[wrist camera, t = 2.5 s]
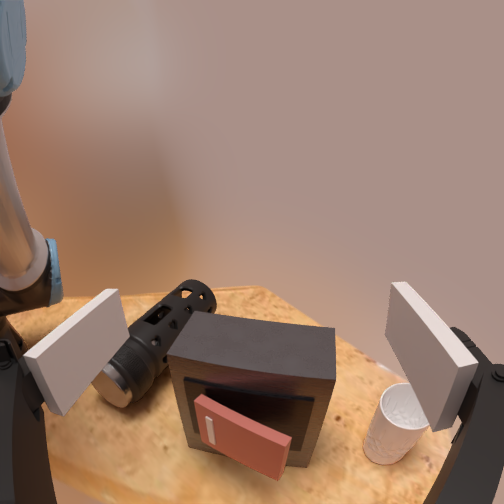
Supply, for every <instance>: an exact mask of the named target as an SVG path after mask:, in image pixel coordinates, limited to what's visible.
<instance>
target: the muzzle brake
mask: <svg viewBox="0 0 504 504" xmlns="http://www.w3.org/2000/svg"><path fill="white" fill-rule="evenodd" d="M184 290H185V291H190V292H192V293H191V294H190V295H189V296H188V297H187V298H182V291H184ZM201 295H202V296H203V299H201V298H200V297H199V296H201ZM187 308H188V309H189V310H188V309H187ZM216 308H217V303H216V299H215V296H214V294H213V292H212V291H211V290H210V288H208V287H207V286H206V285H205V284H204V283H202V282H200V281H197V280H192V279H191V280H186V281H184V282H183V283H181V284H180V285H179V286H178V287H177V288H176V289H175V290H173V291H172V292H170V293H169V294H168V295H167V296H165V297H164V298H163V299H162V300H161V301H160V302H158V303H157V304H156V305H155V306H153V307H152V308H151V309H150V310H148V311H147V312H146V313H145V314H144V315H143V316H141V317H140V318H139V319H138V320H136V321H135V322H134V323H133V324H132V325H130V326H129V327H128V332H129V335H130V337H129V338H128V339H127V340H126V341H125V343H124V344H123V345H122V346H121V347H120V348H119V350H118V351H117V352H116V353H115V354H114V356H113V357H112V358H111V359H110V360H109V362H108V363H107V364H106V365H105V366H104V368H103V369H102V370H101V371H100V372H99V374H98V375H97V376H96V377H95V378H94V380H93V381H92V382H91V383H92V385H93V386H94V388H95V389H96V390H97V391H98V393H99V394H100V395H101V396H102V397H104V398H105V399H106V400H107V401H108V402H110V403H111V404H113V405H115V406H117V407H121V408H124V407H126V406H127V405H128V404H129V403H134V402H137V401H138V400H140V398H141V397H142V396H143V395H144V394H145V393H146V392H147V391H148V390H149V388H150V387H151V386H152V384H153V380H154V378H155V377H157V376H159V375H160V374H161V372H162V371H163V370H164V369H165V368H166V367H167V366H168V365H169V364H168V360H167V355H166V354H167V352H168V350H169V349H170V347H171V346H172V344H173V343H174V341H175V340H176V338H177V337H178V335H179V334H180V332H181V331H182V329H183V328H184V326H185V325H186V323H187V322H188V320H189V319H190V317H191V316H192V314H193V313H194V311H200V312H206V313H212V314H214V313H215V311H216ZM158 315H159V316H158Z"/></svg>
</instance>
